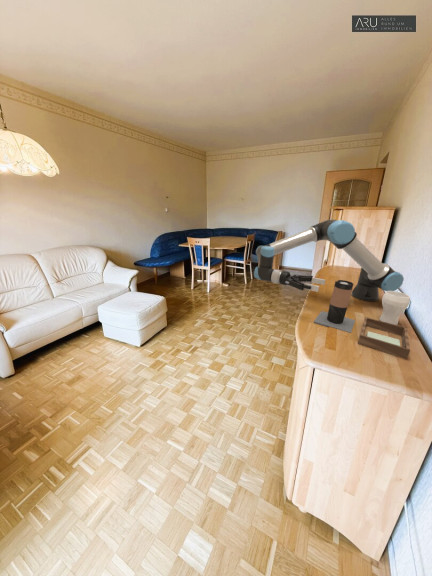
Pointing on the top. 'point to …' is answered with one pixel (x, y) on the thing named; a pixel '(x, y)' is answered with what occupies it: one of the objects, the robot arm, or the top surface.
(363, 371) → the top surface
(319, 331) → the top surface
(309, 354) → the top surface
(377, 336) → the top offcut
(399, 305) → the cup
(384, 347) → the brown wooden tray
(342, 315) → the travel mug
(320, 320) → the charcoal mat
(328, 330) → the top surface
